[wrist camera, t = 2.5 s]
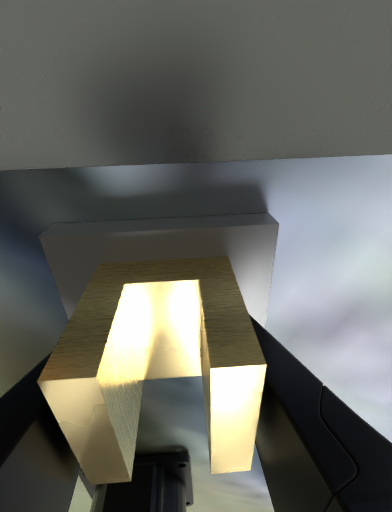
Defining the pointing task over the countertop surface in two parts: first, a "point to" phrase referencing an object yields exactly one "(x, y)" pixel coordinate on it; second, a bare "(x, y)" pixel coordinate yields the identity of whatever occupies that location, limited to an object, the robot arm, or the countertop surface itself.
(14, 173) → the countertop surface
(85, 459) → the brass clip
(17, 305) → the countertop surface
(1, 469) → the robot arm
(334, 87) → the rail plate
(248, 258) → the tab
